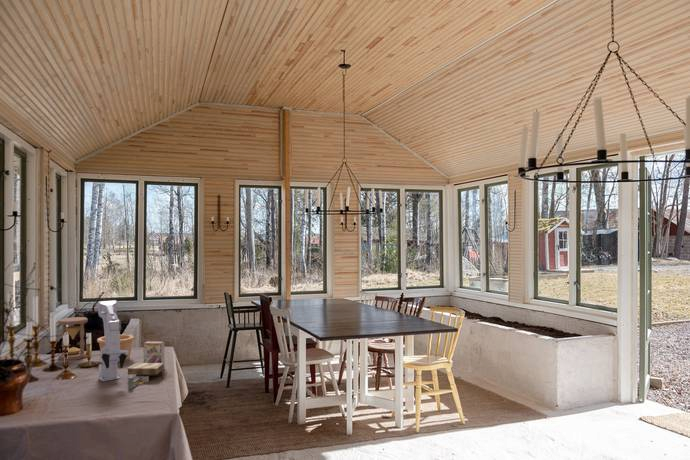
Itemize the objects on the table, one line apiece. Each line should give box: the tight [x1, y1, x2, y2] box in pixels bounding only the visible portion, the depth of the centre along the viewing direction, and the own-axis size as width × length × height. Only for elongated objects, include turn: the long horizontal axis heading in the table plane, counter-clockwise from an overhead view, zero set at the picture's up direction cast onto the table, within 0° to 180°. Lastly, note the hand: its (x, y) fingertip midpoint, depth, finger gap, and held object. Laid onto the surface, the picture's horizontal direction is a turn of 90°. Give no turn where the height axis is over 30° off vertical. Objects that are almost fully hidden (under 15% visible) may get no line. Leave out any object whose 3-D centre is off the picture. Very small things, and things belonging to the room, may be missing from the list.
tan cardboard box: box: [126, 362, 166, 377], centre depth 315 cm, size 17×12×7 cm
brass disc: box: [134, 381, 145, 385], centre depth 304 cm, size 5×5×1 cm
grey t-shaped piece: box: [127, 375, 150, 390], centre depth 301 cm, size 8×15×6 cm, turn 178°
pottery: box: [96, 334, 135, 364], centre depth 358 cm, size 22×22×14 cm
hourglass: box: [57, 316, 89, 361], centre depth 367 cm, size 18×18×25 cm
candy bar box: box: [143, 340, 166, 369], centre depth 333 cm, size 11×5×16 cm, turn 84°
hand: (114, 368), depth 300 cm, fingers open, 7 cm apart
